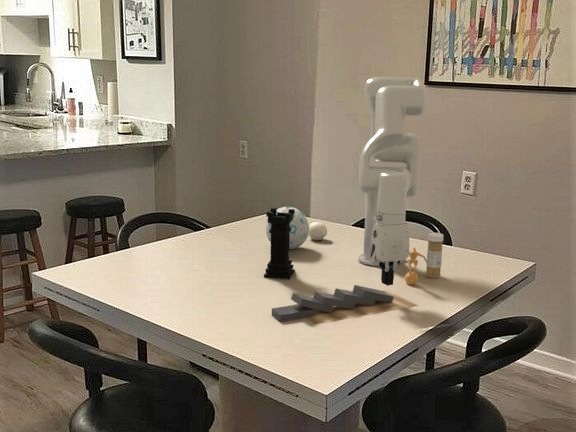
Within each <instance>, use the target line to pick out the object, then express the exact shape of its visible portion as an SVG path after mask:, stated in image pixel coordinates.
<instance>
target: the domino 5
mask: <svg viewBox="0 0 576 432" xmlns="http://www.w3.org/2000/svg"><path fill="white" fill-rule="evenodd" d="M352 291H353V292H355V293H357V294H358V295H360V296H362V297H365V298H370V299H375V300H380V301H384V302H389V303H392V301H393V298H394V297H393V296H392V295H390V294H388V293H386V292H384V291H383V290H380V289H375V288H371V287H367V286H362V285H357V284H354V286H353V288H352Z"/></svg>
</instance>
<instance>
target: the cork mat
mask: <svg viewBox="0 0 576 432" xmlns="http://www.w3.org/2000/svg"><path fill="white" fill-rule="evenodd" d="M382 291H384V292H386V293H388V294H390V295H392V296H393V297H394V298H393V301H392V303H389V302H384V301H380V300H376V301H375V304H374V306H370V305H365V304H359V303H356V304H355V308H354V309H348V308H343V307H337V306H334V308H333V311H332V313H329V312H324V311H320V310H316V316H313V317H307V318H305V320H307V321H308V322H310V323H311V324H313V325H317V324H322V323H323V324H324V323H329V322H334V321H341V320H345V319H351V318H357V317H362V316H368V315H374V314H380V313H381V314H382V313H385V312H391V311H397V310H402V309H408V308H409V309H410V308H414V307H419V305H418V304H416V303H414V302H413V301H412V302H411V301H410V300H408V299H406V298H405V297H402V296H401V295H400V294H397V293H395V292H393V291H392V290H389V289H385V290H382ZM291 305H292V304H290V305H287V306H291ZM294 305H297V303H295V304H294Z"/></svg>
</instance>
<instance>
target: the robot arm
mask: <svg viewBox="0 0 576 432" xmlns="http://www.w3.org/2000/svg"><path fill="white" fill-rule="evenodd" d="M364 97H365V101H366V105H367V108H368V110H369V114H370V121H371V122H370V139H369V140H368V141H367V142H366V143H365V145H364V147H363V149H362V150H361V153H360V154H359V155H360V156H359V162H358V186H359V189H360V191H362V192H363V193H364V194H365V215H364V216H365V217H364V234H363V235H364V236H363V252H362V254H360V255H358V259H357V260H358V261H359V262H360V263H361V264H364V265H367V266H373V267H379V269H380V270H381V274H380V275H381V278H380V279H381V284H383V285H385V286H393V285H394V279H395V271H396V270H397V267H398V266H399V265H400V264H402V263H403V262H405V261H406V260H407V259H408V258H409V257H410V255H409V252H410V231H409V225H408V222H406V213H407V212H406V211H407V210H406V209H407V208H406V207H407V198H408V197H409V198H411V197H415V196H416V195H417V194H418V192H419V188H420V175H421V174H420V173H421V157H422V156H421V155H422V154H421V153H422V145H421V139H420V136H419V135H417V134H415V133H412V132H406V116H413V117H414V116H422V115H423V114H424V113H425V111H426V109H427V101H428V100H427V93H426V88H425V86H424V83H423V82H422V80H421V79H420V78H418V77H403V76H402V77H401V76H400V77H397V76H396V77H395V76H377V77H371V78H369V79H367V80H366V82H365V85H364ZM370 159H371V160H373V161H375V162H378V163H379V162H380V163H395V164H397V163H399V164H404V165H405V166H391V165H390V166H387V165H380V166H379V165H376V166H370Z"/></svg>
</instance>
